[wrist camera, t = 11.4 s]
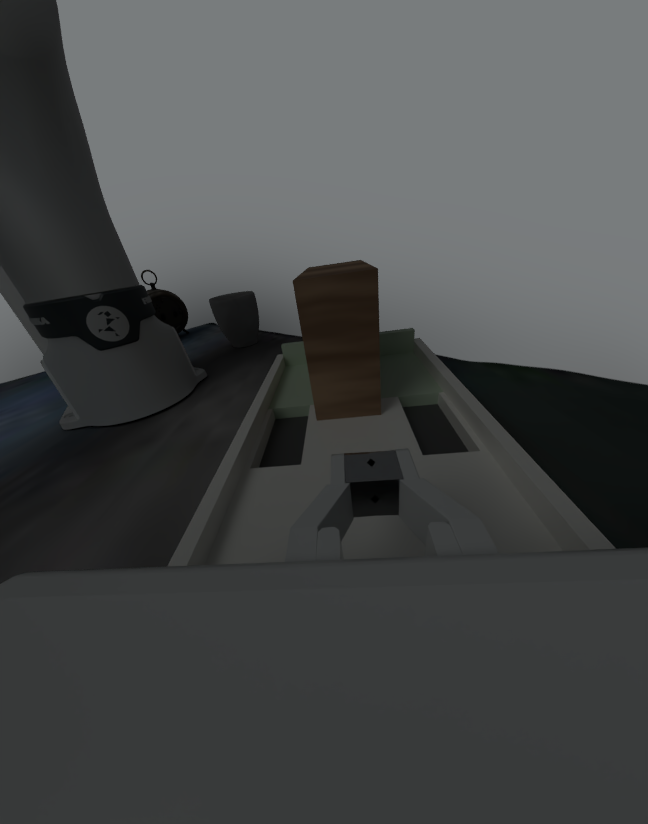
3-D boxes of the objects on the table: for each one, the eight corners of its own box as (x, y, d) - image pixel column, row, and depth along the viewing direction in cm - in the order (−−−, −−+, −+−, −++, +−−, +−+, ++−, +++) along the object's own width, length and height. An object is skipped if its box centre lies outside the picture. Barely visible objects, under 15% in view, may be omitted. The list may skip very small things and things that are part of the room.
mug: (274, 338, 58) (263, 290, 53) (241, 352, 53) (226, 300, 48) (239, 335, 65) (227, 292, 60) (208, 347, 59) (191, 300, 55)
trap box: (745, 794, 8) (890, 767, 6) (119, 771, 10) (35, 745, 8) (418, 358, 39) (420, 327, 36) (282, 373, 40) (275, 344, 38)
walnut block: (381, 414, 25) (377, 268, 19) (316, 420, 25) (292, 280, 19) (365, 360, 37) (360, 260, 31) (322, 365, 37) (308, 267, 31)
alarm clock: (190, 331, 76) (165, 267, 68) (198, 333, 73) (173, 265, 65) (149, 343, 70) (116, 274, 62) (156, 346, 67) (122, 273, 58)
